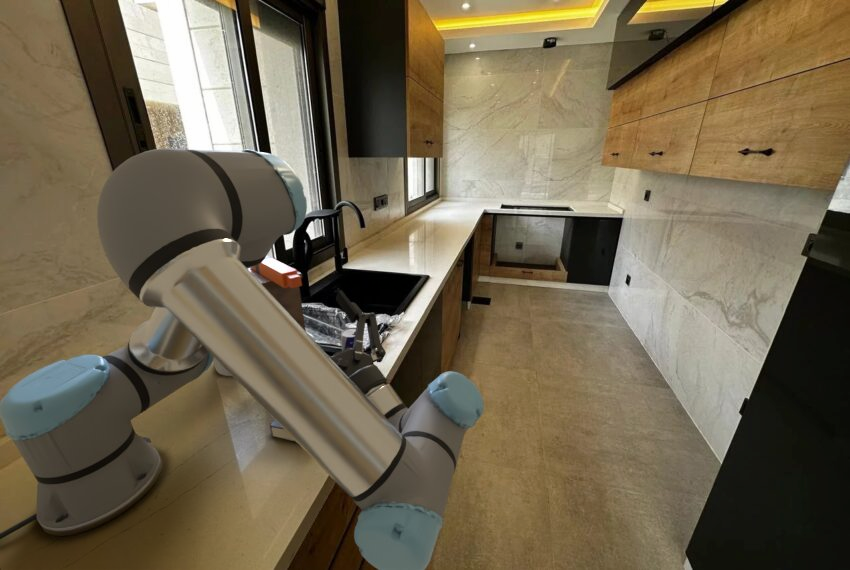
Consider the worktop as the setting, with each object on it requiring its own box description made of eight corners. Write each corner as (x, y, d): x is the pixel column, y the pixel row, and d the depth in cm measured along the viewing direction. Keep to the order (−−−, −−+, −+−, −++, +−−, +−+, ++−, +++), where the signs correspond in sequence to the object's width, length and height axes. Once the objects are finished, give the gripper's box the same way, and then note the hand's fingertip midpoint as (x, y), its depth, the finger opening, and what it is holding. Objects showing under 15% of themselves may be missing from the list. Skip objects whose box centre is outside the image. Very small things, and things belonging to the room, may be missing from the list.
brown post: (278, 406, 75) (253, 285, 64) (258, 385, 82) (234, 272, 71) (317, 386, 82) (302, 273, 71) (296, 368, 89) (279, 262, 78)
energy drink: (360, 378, 84) (356, 338, 80) (340, 376, 85) (336, 336, 81) (367, 366, 89) (364, 328, 85) (349, 364, 90) (345, 326, 86)
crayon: (289, 292, 61) (287, 276, 60) (249, 267, 74) (246, 254, 73) (305, 287, 63) (303, 272, 62) (263, 264, 76) (260, 252, 75)
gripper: (294, 451, 47) (234, 340, 55) (415, 374, 64) (357, 298, 72) (300, 430, 42) (234, 313, 50) (430, 353, 59) (365, 275, 67)
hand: (306, 304), depth 61 cm, fingers open, 13 cm apart
